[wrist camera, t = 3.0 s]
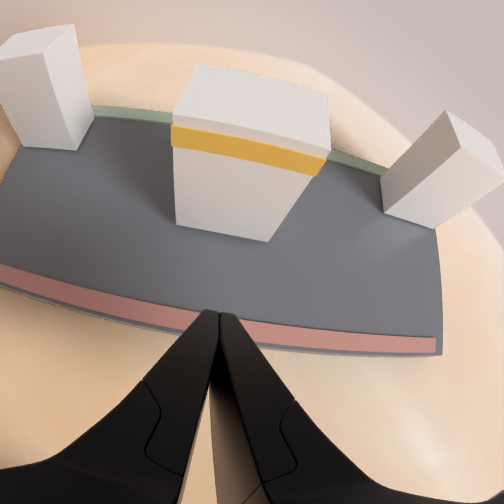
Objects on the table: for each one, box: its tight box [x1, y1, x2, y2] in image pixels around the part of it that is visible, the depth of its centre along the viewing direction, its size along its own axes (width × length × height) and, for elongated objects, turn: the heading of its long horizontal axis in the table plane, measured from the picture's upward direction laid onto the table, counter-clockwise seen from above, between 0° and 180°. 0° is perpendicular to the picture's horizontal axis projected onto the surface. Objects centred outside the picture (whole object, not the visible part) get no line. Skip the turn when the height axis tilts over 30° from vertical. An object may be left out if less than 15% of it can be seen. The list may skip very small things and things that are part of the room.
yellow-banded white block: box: [171, 63, 331, 242], centre depth 13 cm, size 3×5×8 cm, turn 83°
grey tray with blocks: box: [0, 24, 504, 357], centre depth 14 cm, size 14×32×10 cm, turn 83°
